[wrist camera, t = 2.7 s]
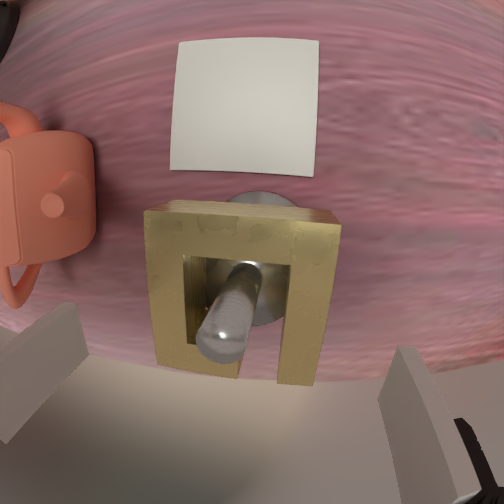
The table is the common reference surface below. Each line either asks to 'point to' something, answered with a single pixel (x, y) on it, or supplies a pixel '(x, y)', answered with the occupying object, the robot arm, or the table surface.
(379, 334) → the table surface
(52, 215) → the pot
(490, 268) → the table surface
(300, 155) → the mat
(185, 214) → the link
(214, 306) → the stand
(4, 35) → the robot arm
